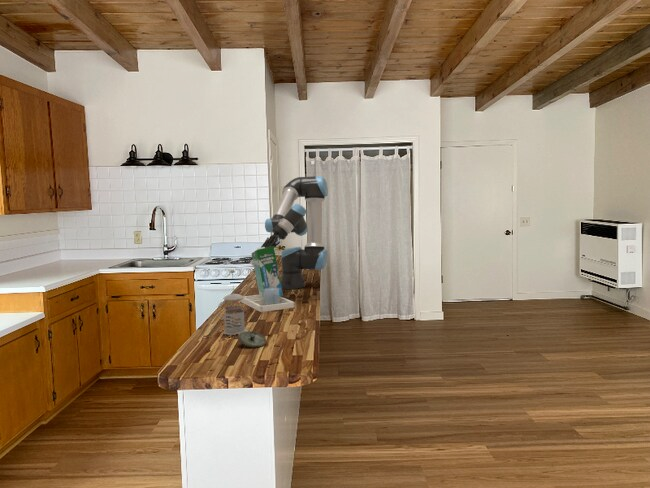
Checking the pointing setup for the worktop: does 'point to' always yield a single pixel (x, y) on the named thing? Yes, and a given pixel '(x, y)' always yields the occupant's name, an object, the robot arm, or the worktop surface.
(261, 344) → the lid
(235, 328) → the french press
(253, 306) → the tray
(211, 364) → the worktop surface
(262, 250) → the milk carton
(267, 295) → the mug
